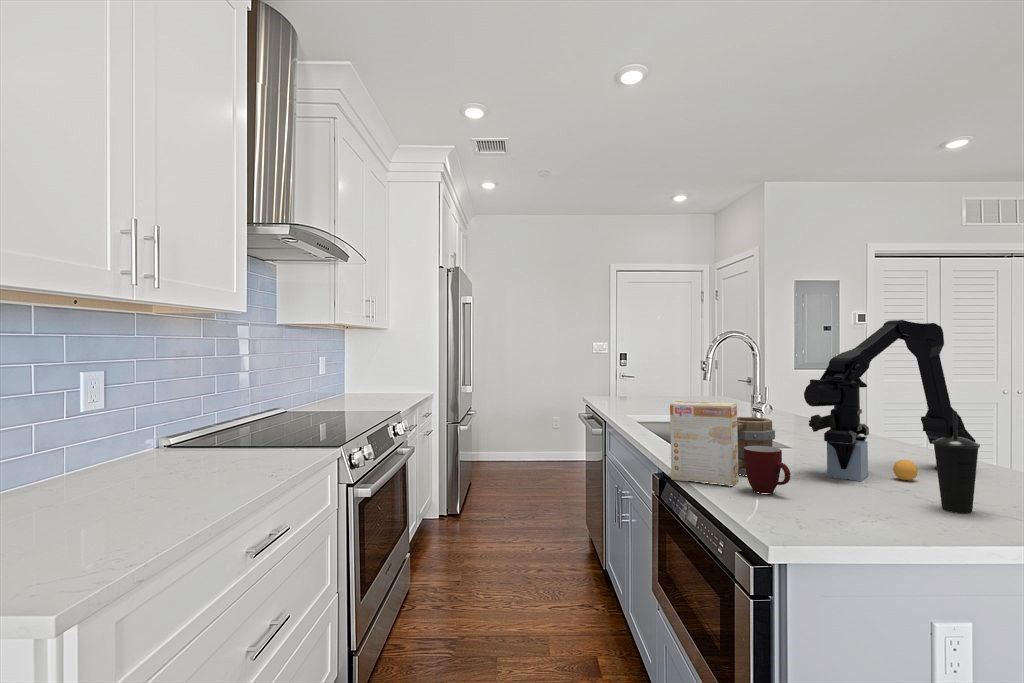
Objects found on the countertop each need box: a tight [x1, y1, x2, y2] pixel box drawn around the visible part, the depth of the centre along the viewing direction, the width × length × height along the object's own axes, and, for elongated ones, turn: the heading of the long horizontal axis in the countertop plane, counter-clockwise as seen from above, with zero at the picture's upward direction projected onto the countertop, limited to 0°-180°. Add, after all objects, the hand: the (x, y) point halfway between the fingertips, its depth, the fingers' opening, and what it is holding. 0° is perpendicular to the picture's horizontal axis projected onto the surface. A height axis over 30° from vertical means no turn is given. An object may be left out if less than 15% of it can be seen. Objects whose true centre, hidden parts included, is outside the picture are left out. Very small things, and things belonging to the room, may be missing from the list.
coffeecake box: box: [669, 400, 739, 486], centre depth 141 cm, size 15×7×20 cm, turn 57°
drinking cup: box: [931, 410, 981, 514], centre depth 114 cm, size 8×8×20 cm
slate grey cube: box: [826, 440, 869, 482], centre depth 144 cm, size 8×8×9 cm
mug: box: [744, 446, 791, 494], centre depth 129 cm, size 11×8×10 cm
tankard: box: [737, 416, 776, 476], centre depth 149 cm, size 20×13×15 cm, turn 123°
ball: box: [892, 459, 919, 481], centre depth 139 cm, size 5×5×5 cm
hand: (847, 466), depth 144 cm, fingers closed on slate grey cube, 7 cm apart
